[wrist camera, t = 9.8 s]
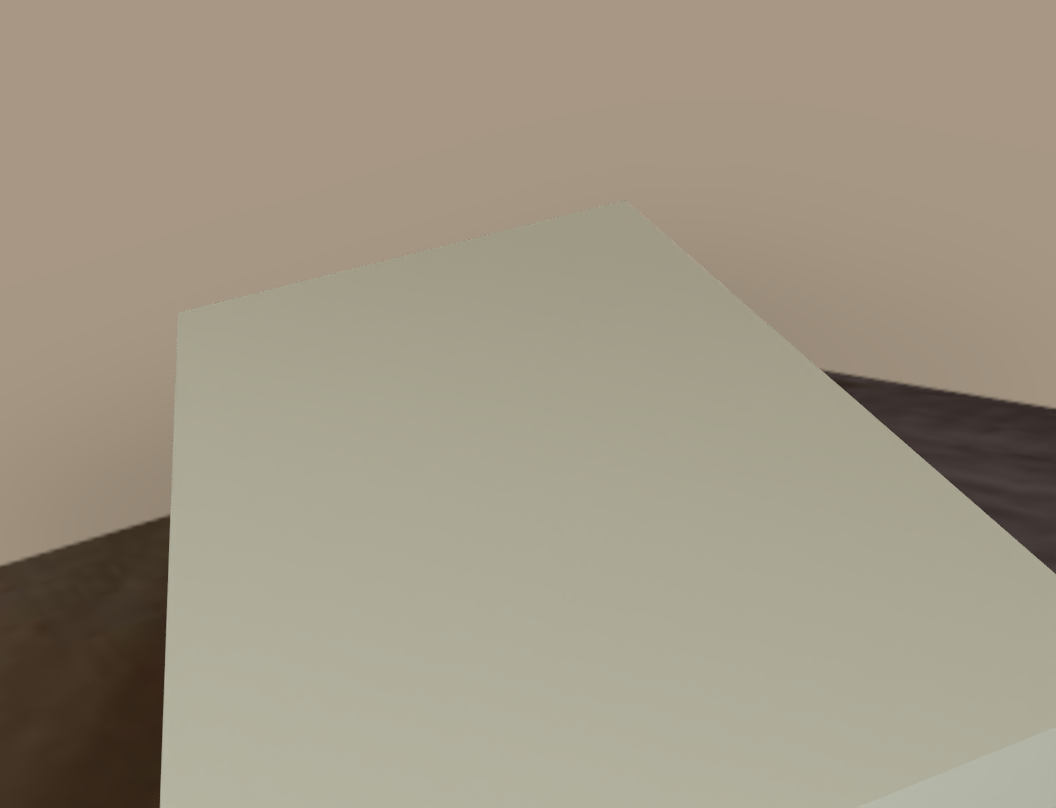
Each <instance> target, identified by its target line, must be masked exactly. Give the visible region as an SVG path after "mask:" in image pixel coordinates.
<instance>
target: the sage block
mask: <svg viewBox="0 0 1056 808" xmlns="http://www.w3.org/2000/svg"><path fill="white" fill-rule="evenodd" d="M177 323H178V324H177V350H176V378H175V405H174V406H175V407H174V432H173V460H172V489H171V515H170V543H169V570H168V598H167V626H166V653H165V681H164V708H163V736H162V763H161V791H160V808H1056V574H1055V573H1053V572H1052V571H1051V570H1050V569H1049V568H1048V567H1047V566H1045V565H1044V564H1043V563H1042V562H1041V561H1040V560H1039V559H1037V558H1036V557H1035V556H1034V555H1033V554H1032V553H1031V552H1029V551H1028V550H1027V549H1026V548H1025V547H1024V546H1022V545H1021V544H1020V543H1019V542H1018V541H1017V540H1016V539H1014V538H1013V537H1012V536H1011V535H1010V534H1009V533H1008V532H1006V531H1005V530H1004V529H1003V528H1002V527H1001V526H999V525H998V524H997V523H996V522H995V521H994V520H993V519H991V518H990V517H989V516H988V515H987V514H986V513H985V512H983V511H982V510H981V509H980V508H979V507H978V506H977V505H975V504H974V503H973V502H972V501H971V500H970V499H968V498H967V497H966V496H965V495H964V494H963V493H962V492H960V491H959V490H958V489H957V488H956V487H955V486H954V485H952V484H951V483H950V482H949V481H948V480H947V479H946V478H944V477H943V476H942V475H941V474H940V473H939V472H937V471H936V470H935V469H934V468H933V467H932V466H931V465H929V464H928V463H927V462H926V461H925V460H924V459H923V458H921V457H920V456H919V455H918V454H917V453H916V452H914V451H913V450H912V449H911V448H910V447H909V446H908V445H906V444H905V443H904V442H903V441H902V440H901V439H900V438H898V437H897V436H896V435H895V434H894V433H893V432H892V431H890V430H889V429H888V428H887V427H886V426H885V425H883V424H882V423H881V422H880V421H879V420H878V419H877V418H875V417H874V416H873V415H872V414H871V413H870V412H869V411H867V410H866V409H865V408H864V407H863V406H862V405H861V404H859V403H858V402H857V401H856V400H855V399H854V398H852V397H851V396H850V395H849V394H848V393H847V392H846V391H844V390H843V389H842V388H841V387H840V386H839V385H838V384H836V383H835V382H834V381H833V380H832V379H831V378H829V377H828V376H827V375H826V374H825V373H824V372H823V371H821V370H820V369H819V368H818V367H817V366H816V365H814V364H813V363H812V362H811V361H810V360H809V359H808V358H806V357H805V356H804V355H803V354H802V353H801V352H799V351H798V350H797V349H796V348H795V347H794V346H793V345H792V344H790V343H789V342H788V341H787V340H786V339H785V338H784V337H782V336H781V335H780V334H779V333H778V332H777V331H775V330H774V329H773V328H772V327H771V326H770V325H769V324H767V323H766V322H765V321H764V320H763V319H762V318H761V317H759V316H758V315H757V314H756V313H755V312H754V311H752V310H751V309H750V308H749V307H748V306H747V305H746V304H744V303H743V302H742V301H741V300H740V299H739V298H738V297H736V296H735V295H734V294H733V293H732V292H731V291H730V290H728V289H727V288H726V287H725V286H724V285H723V284H722V283H720V282H719V281H718V280H717V279H716V278H715V277H713V276H712V275H711V274H710V273H709V272H708V271H707V270H705V269H704V268H703V267H702V266H701V265H700V264H699V263H697V262H696V261H695V260H694V259H693V258H692V257H690V256H689V255H688V254H687V253H686V252H685V251H684V250H682V249H681V248H680V247H679V246H678V245H677V244H676V243H674V242H673V241H672V240H671V239H670V238H669V237H668V236H666V235H665V234H664V233H663V232H662V231H661V230H659V229H658V228H657V227H656V226H655V225H654V224H653V223H651V222H650V221H649V220H648V219H647V218H646V217H645V216H643V215H642V214H641V213H640V212H639V211H637V210H636V209H635V208H634V207H633V206H632V205H631V204H630V203H628V202H627V201H626V200H625V201H621V202H617V203H613V204H609V205H605V206H601V207H597V208H593V209H589V210H585V211H581V212H577V213H573V214H569V215H565V216H561V217H557V218H554V219H549V220H545V221H541V222H537V223H533V224H529V225H525V226H521V227H517V228H513V229H510V230H505V231H501V232H497V233H493V234H489V235H485V236H481V237H478V238H473V239H469V240H466V241H462V242H458V243H454V244H450V245H446V246H442V247H438V248H434V249H430V250H426V251H422V252H418V253H414V254H410V255H406V256H402V257H398V258H394V259H390V260H386V261H382V262H378V263H374V264H370V265H366V266H362V267H359V268H355V269H350V270H346V271H342V272H339V273H335V274H330V275H326V276H323V277H318V278H314V279H311V280H306V281H302V282H299V283H295V284H291V285H287V286H283V287H279V288H275V289H271V290H267V291H263V292H259V293H255V294H251V295H247V296H243V297H239V298H235V299H231V300H227V301H223V302H219V303H215V304H212V305H207V306H203V307H199V308H195V309H191V310H187V311H183V312H179V313H178V322H177Z"/></svg>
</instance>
